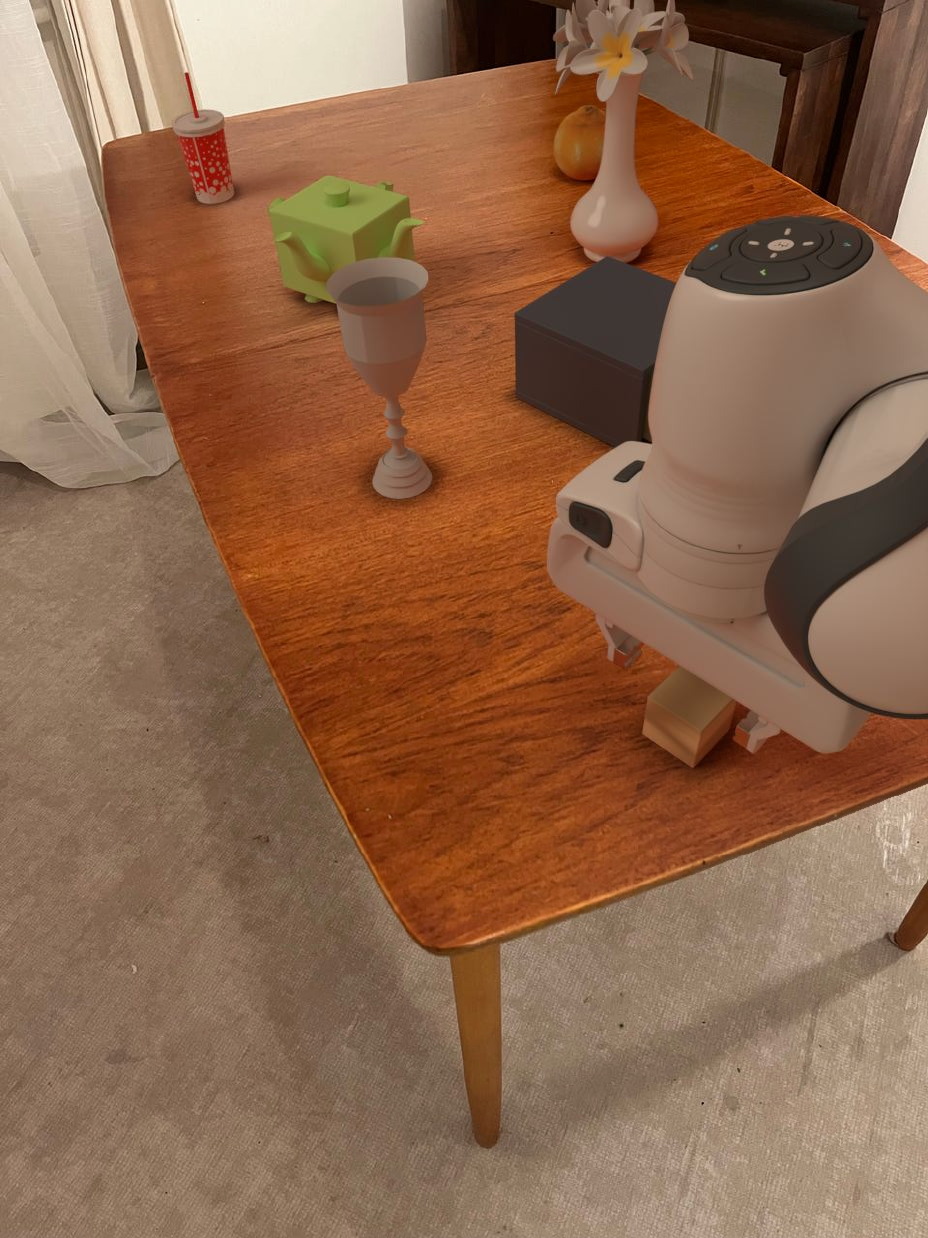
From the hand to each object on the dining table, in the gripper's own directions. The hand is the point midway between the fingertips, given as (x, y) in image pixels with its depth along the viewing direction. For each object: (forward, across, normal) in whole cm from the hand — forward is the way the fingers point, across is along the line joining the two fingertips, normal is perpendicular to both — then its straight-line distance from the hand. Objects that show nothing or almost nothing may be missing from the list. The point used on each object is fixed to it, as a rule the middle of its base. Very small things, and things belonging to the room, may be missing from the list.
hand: (684, 698), depth 61 cm
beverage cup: (+5, +90, -29) cm, 95 cm away
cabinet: (+4, +26, -27) cm, 38 cm away
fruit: (+4, +57, -62) cm, 84 cm away
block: (+4, 0, 0) cm, 4 cm away
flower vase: (+4, +44, -48) cm, 65 cm away
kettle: (+4, +58, -24) cm, 63 cm away
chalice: (+4, +32, -6) cm, 33 cm away
